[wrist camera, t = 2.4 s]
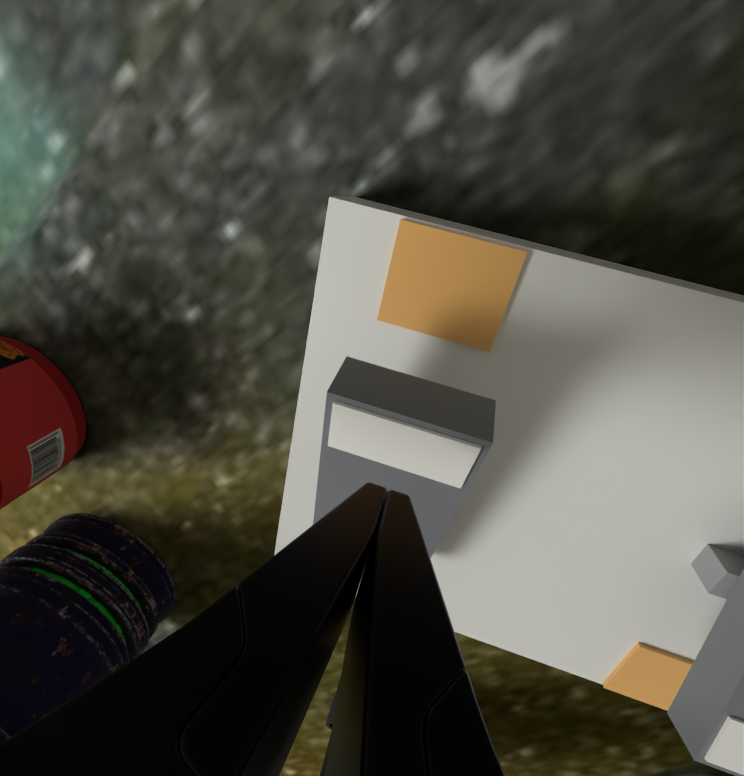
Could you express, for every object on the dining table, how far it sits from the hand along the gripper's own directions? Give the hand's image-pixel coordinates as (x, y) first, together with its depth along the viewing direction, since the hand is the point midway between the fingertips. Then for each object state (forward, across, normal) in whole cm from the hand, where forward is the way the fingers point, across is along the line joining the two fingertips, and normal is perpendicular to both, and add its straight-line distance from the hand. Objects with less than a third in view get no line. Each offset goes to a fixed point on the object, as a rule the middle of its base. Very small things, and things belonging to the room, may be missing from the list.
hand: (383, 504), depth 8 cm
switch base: (+9, -6, +3) cm, 12 cm away
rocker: (+4, 0, +3) cm, 5 cm away
